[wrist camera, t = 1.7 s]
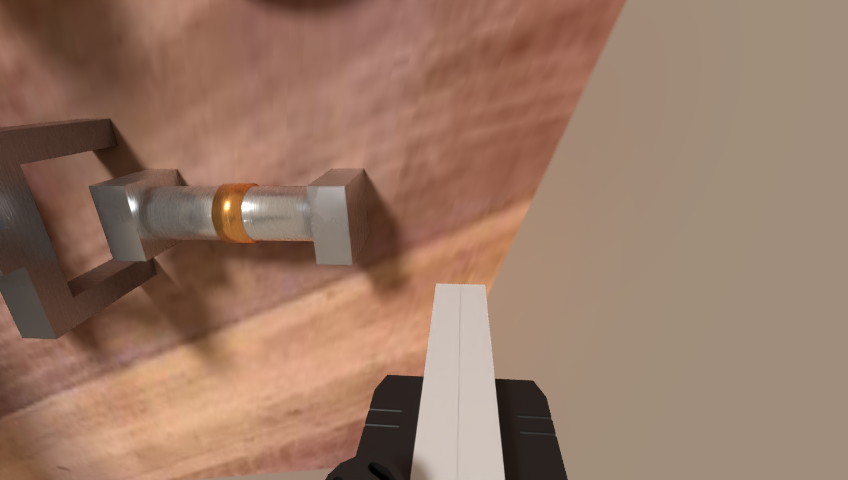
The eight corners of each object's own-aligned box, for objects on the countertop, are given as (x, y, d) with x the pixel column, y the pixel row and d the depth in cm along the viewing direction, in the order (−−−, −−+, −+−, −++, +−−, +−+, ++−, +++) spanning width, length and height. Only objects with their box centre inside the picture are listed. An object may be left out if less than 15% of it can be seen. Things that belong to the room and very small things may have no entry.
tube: (165, 233, 27) (113, 260, 23) (147, 168, 25) (88, 186, 21) (368, 235, 26) (352, 264, 22) (364, 168, 24) (344, 186, 20)
